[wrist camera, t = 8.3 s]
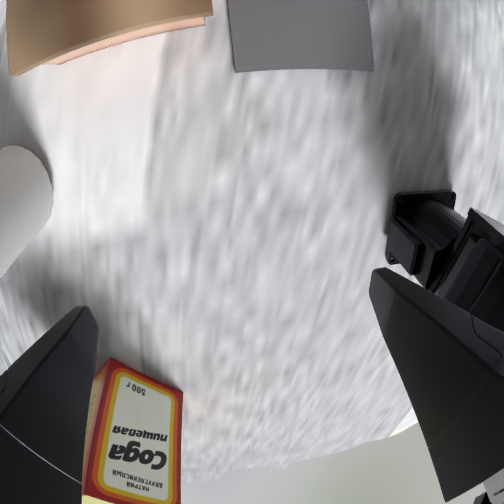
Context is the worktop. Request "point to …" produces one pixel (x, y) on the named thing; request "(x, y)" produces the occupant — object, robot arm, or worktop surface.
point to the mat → (300, 34)
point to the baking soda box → (132, 439)
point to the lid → (83, 24)
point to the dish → (128, 38)
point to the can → (21, 201)
